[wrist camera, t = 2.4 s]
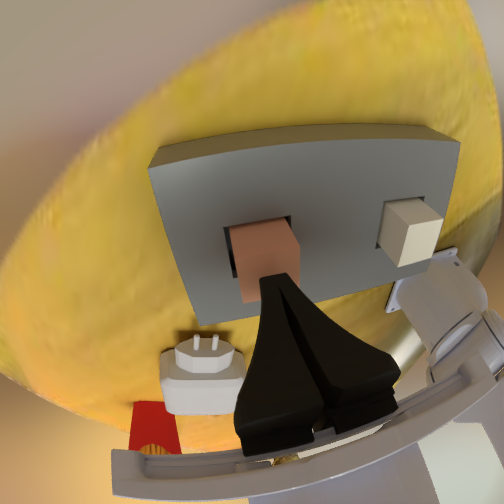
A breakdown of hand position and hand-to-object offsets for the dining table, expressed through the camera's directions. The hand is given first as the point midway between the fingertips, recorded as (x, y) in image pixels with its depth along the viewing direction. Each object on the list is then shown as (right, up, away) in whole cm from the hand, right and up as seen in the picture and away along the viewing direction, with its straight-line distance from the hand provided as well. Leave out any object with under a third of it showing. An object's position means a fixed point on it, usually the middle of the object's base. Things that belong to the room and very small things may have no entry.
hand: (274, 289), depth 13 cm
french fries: (-17, -22, +23) cm, 36 cm away
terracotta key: (-1, +2, +3) cm, 4 cm away
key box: (+4, +5, +6) cm, 9 cm away
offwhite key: (+9, +4, +4) cm, 11 cm away
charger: (-7, -10, +16) cm, 20 cm away
